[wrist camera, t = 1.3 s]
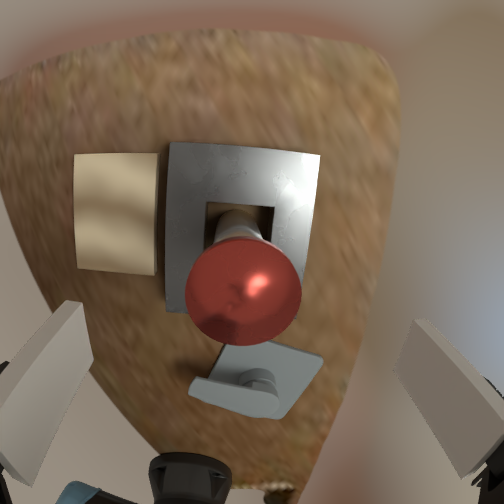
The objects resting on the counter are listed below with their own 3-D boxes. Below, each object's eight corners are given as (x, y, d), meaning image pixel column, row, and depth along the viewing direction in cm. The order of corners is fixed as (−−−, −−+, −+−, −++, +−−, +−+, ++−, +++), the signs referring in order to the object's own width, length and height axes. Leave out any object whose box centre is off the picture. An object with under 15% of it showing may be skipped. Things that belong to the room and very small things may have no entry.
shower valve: (209, 346, 27) (337, 382, 30) (212, 318, 33) (324, 354, 35) (174, 419, 31) (285, 443, 33) (179, 389, 36) (279, 415, 39)
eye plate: (290, 305, 32) (295, 319, 29) (171, 298, 31) (165, 311, 28) (311, 155, 28) (320, 155, 25) (176, 143, 26) (170, 142, 23)
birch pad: (156, 271, 30) (154, 275, 29) (82, 264, 29) (77, 268, 28) (160, 153, 26) (157, 153, 25) (79, 154, 26) (74, 154, 24)
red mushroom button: (264, 260, 31) (292, 347, 16) (204, 256, 30) (185, 342, 16) (270, 201, 29) (310, 246, 14) (208, 197, 28) (185, 236, 14)
